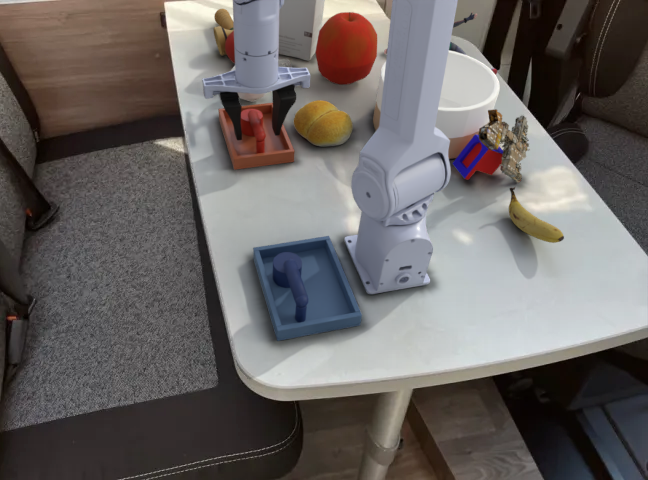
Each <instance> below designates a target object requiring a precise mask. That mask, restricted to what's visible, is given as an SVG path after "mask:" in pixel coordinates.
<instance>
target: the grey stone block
mask: <svg viewBox="0 0 648 480" xmlns="http://www.w3.org/2000/svg"><path fill="white" fill-rule="evenodd" d="M278 67H289V68H293V65H292V62H291V61H290V59H288V58H282V59H278Z"/></svg>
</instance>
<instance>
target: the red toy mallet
mask: <svg viewBox="0 0 648 480" xmlns="http://www.w3.org/2000/svg"><path fill="white" fill-rule="evenodd" d="M241 131H242V133H243V134H244V135H247V136H255V138H256V154H258V153H265V140H264V139H265V137H266V134H265V132H264V129H263V114H262V112H261V111H259V110H257V109H246V110H244V111H242V112H241Z"/></svg>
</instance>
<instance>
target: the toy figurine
mask: <svg viewBox="0 0 648 480" xmlns="http://www.w3.org/2000/svg"><path fill="white" fill-rule="evenodd" d="M233 70H235V65H234V66H233V67H232V68H231V69H230V71H233ZM266 95H267V93H263V94H250V93H239V92H238V96H239V100H240V99H241V100H243V101H247V102H251V103H253V102H256V101H258V100H260V99H262V98H264V97H265V96H266Z"/></svg>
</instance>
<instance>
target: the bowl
mask: <svg viewBox="0 0 648 480" xmlns="http://www.w3.org/2000/svg"><path fill="white" fill-rule="evenodd" d="M467 55H468V54H467ZM467 55H464V54H461V53H458V52H454V51H449V52H448V57H447V63H446V68H445V74H444V79H443V85H442V90H441V96H440V101H439V107H438V112H437V118H436V123H435V127H436V128H438V129H439V130H440V131H442V132H443V133H444V134H445V135H446V137H447V138H448V139H449V140H450V144H449V150H448V158H449V160H452V159H456V158H457V157H458V155H459V154H460V153H461V152H462V150H463V149H464V148H465V147H466V145H467V144H468V143H469V141H470V140H471V139H472V138H473V136H474V135H475V134H476V135H478V134H479V128H481V127H483V126H484V125H486V124H488V123H489V115H488V110H495V106H496V103H497V99H498V97H499V93H500V90H501V86H500V81H499V79H498V76H497V74H496V75H495V74H494V72H493V71H492V70H491V68H490V67H489V66H487V65H486V64H485V63H483V62H481V61H480V60H479V59H476V58H475V57H472V56H471V55H470V56H469V55H468V56H467ZM385 67H386V61H384V63H383V64H382V67H381V68H380V72H379V78H378V85H377V90H376V98H375V105H374V111H373V118H372V123H373V127H374V131H376V130H377V129H378V128H379V123H380V114H381V104H382V95H383V86H384V76H385Z"/></svg>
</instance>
